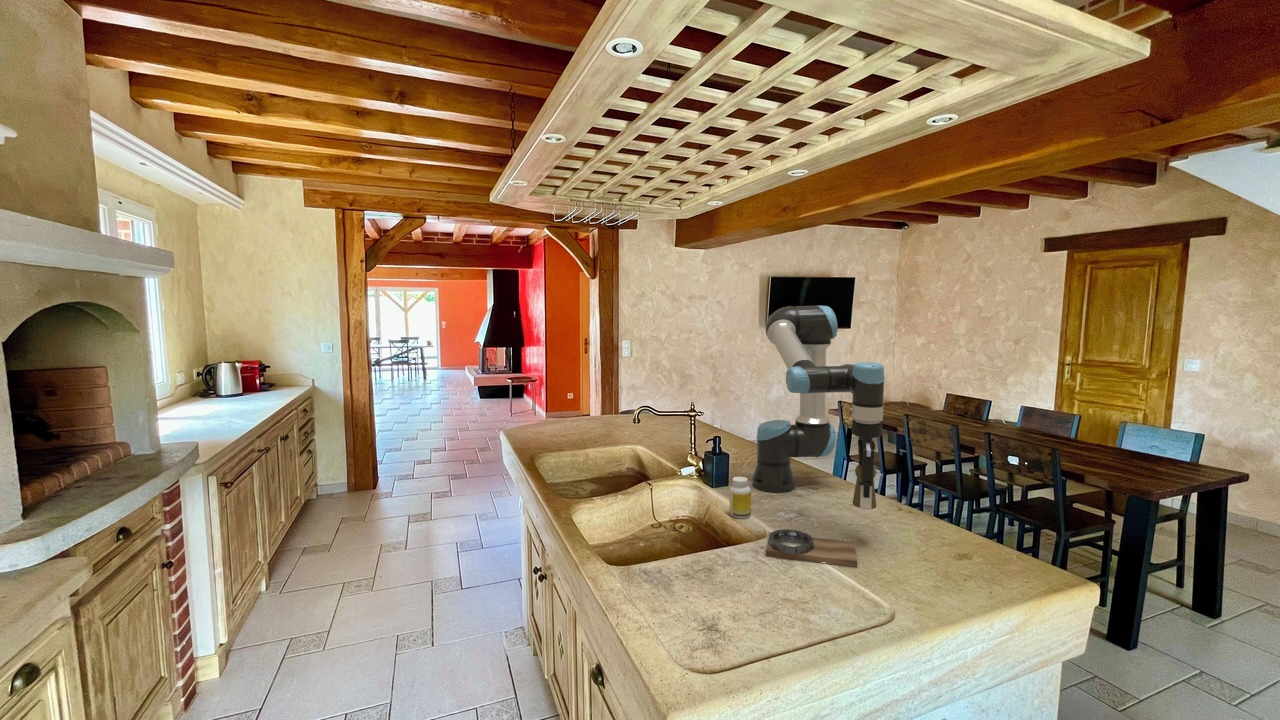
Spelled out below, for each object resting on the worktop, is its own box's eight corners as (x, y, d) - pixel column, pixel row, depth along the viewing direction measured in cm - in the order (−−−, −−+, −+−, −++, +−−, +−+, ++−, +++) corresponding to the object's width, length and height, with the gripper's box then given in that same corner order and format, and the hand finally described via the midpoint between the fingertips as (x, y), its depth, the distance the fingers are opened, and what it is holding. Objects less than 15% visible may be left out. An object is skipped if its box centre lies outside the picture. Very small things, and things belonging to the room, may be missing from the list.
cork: (872, 500, 144) (873, 462, 143) (879, 509, 138) (881, 469, 137) (849, 500, 145) (850, 462, 143) (856, 509, 139) (857, 469, 137)
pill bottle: (752, 518, 159) (752, 482, 158) (731, 519, 159) (731, 482, 158) (748, 510, 166) (748, 475, 164) (728, 511, 166) (728, 475, 165)
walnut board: (769, 538, 146) (769, 532, 145) (853, 547, 139) (854, 542, 138) (766, 556, 135) (766, 550, 135) (857, 567, 128) (857, 561, 128)
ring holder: (770, 532, 145) (770, 527, 145) (813, 537, 142) (813, 532, 142) (767, 550, 135) (767, 545, 135) (813, 556, 131) (813, 550, 131)
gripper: (849, 412, 149) (847, 489, 151) (854, 428, 131) (852, 515, 134) (878, 413, 146) (875, 491, 149) (887, 430, 128) (883, 519, 131)
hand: (864, 503), depth 141 cm, fingers closed on cork, 6 cm apart
